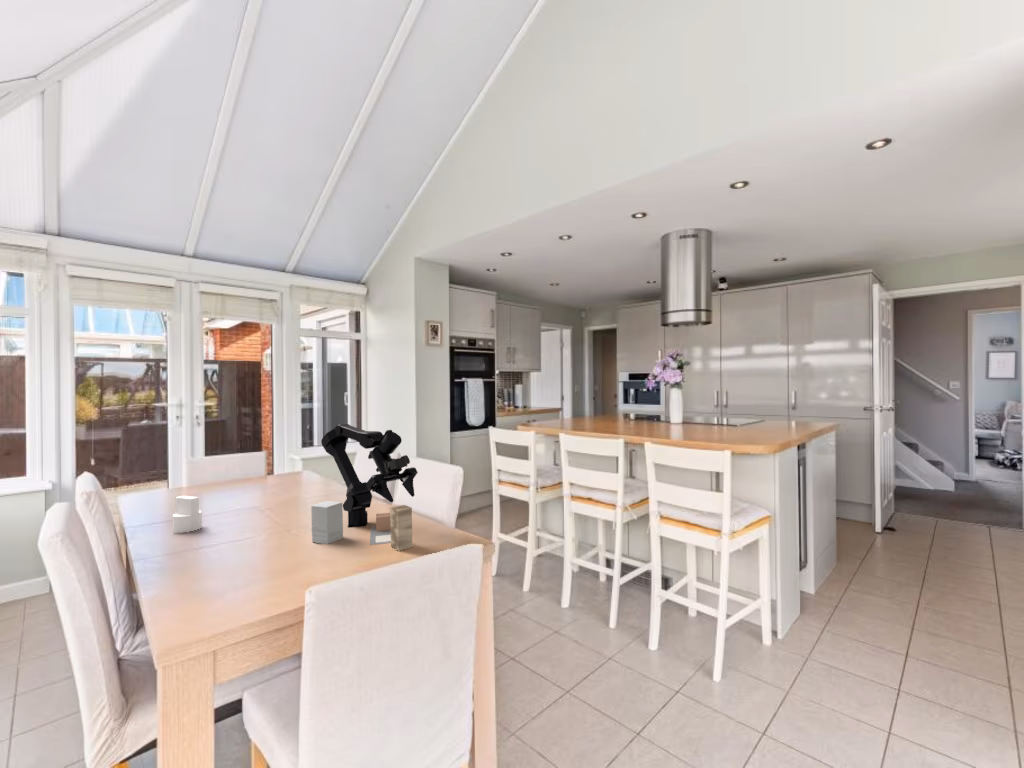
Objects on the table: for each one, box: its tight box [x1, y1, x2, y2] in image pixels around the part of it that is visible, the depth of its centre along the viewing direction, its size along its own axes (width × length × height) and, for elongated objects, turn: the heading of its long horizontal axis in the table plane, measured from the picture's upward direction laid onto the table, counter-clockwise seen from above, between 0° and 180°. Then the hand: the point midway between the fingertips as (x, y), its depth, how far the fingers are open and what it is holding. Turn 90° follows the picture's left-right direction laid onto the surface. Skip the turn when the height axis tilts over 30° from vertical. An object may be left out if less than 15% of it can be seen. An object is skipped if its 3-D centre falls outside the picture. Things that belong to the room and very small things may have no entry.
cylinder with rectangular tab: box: [172, 495, 203, 533], centre depth 179 cm, size 9×9×12 cm
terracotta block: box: [375, 512, 391, 531], centre depth 174 cm, size 5×5×5 cm
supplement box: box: [310, 500, 344, 545], centre depth 164 cm, size 7×7×13 cm
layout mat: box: [369, 526, 391, 546], centre depth 168 cm, size 10×20×1 cm, turn 16°
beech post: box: [389, 504, 413, 552], centre depth 156 cm, size 5×5×13 cm
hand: (403, 498), depth 164 cm, fingers open, 9 cm apart
